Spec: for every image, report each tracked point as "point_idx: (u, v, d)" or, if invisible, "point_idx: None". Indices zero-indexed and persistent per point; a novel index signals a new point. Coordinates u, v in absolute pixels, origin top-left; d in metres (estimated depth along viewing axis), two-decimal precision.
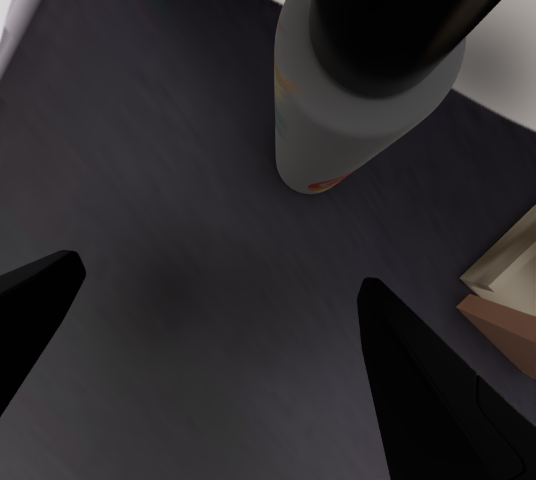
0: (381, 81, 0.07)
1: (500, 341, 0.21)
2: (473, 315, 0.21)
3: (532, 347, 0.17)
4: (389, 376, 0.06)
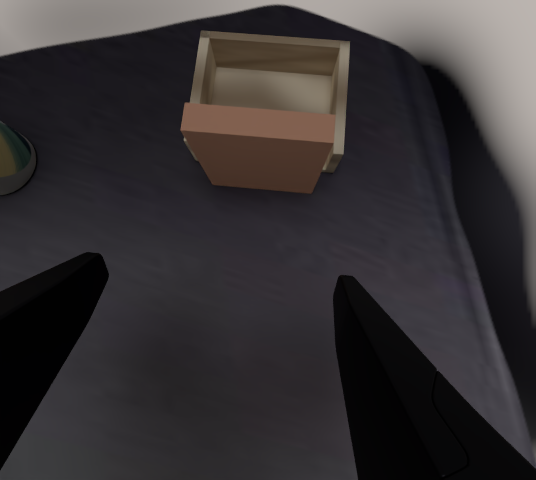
0: None
1: (246, 178, 0.20)
2: (209, 175, 0.20)
3: (206, 147, 0.16)
4: (356, 373, 0.06)
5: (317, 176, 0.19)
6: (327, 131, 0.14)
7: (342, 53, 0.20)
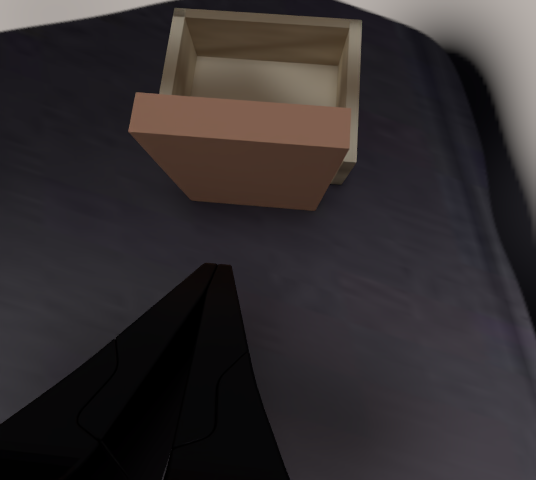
0: None
1: (231, 193, 0.16)
2: (184, 189, 0.16)
3: (172, 156, 0.12)
4: None
5: (323, 191, 0.14)
6: (340, 132, 0.10)
7: (352, 35, 0.16)
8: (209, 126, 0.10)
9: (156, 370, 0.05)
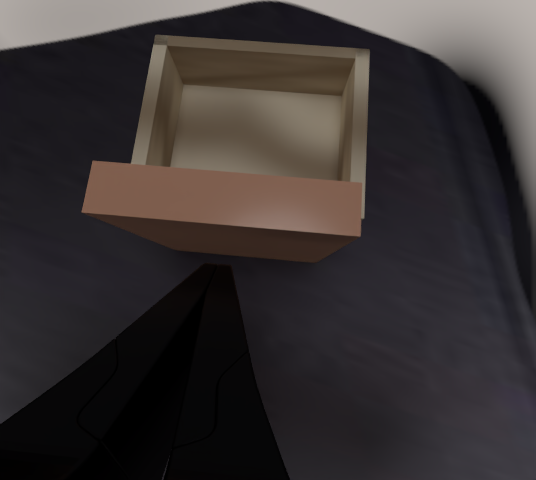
0: None
1: (220, 249, 0.14)
2: (166, 244, 0.14)
3: (142, 228, 0.10)
4: None
5: (325, 255, 0.12)
6: (348, 214, 0.08)
7: (359, 66, 0.14)
8: (183, 206, 0.08)
9: (156, 370, 0.05)
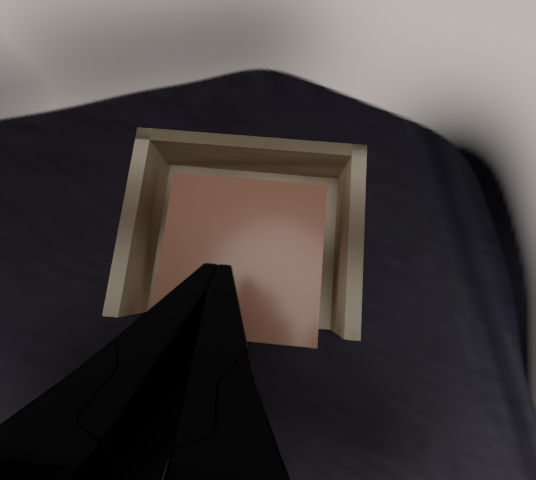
0: None
1: None
2: (158, 289, 0.13)
3: (187, 205, 0.14)
4: None
5: (319, 271, 0.13)
6: None
7: (355, 164, 0.13)
8: None
9: (156, 370, 0.05)
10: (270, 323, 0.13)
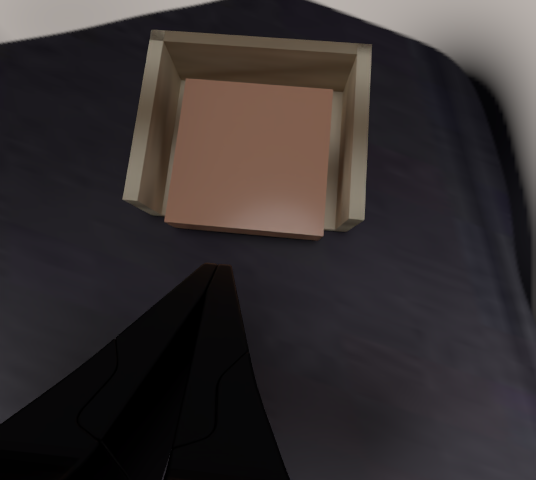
0: None
1: (227, 186, 0.14)
2: (173, 185, 0.14)
3: (199, 108, 0.15)
4: None
5: (325, 168, 0.14)
6: None
7: (360, 62, 0.14)
8: None
9: (156, 370, 0.05)
10: (279, 214, 0.14)
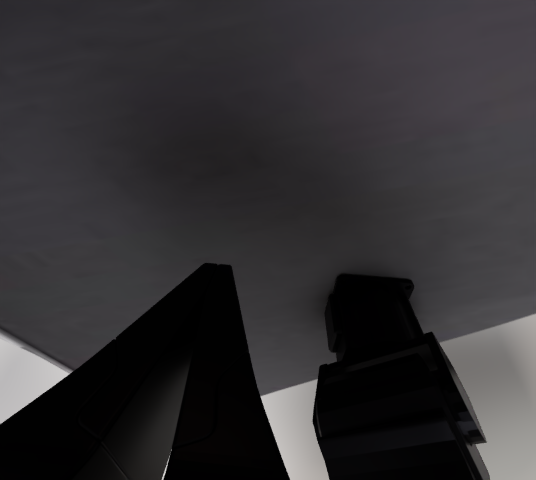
0: None
1: None
2: None
3: None
4: None
5: None
6: None
7: None
8: None
9: (156, 370, 0.05)
10: None
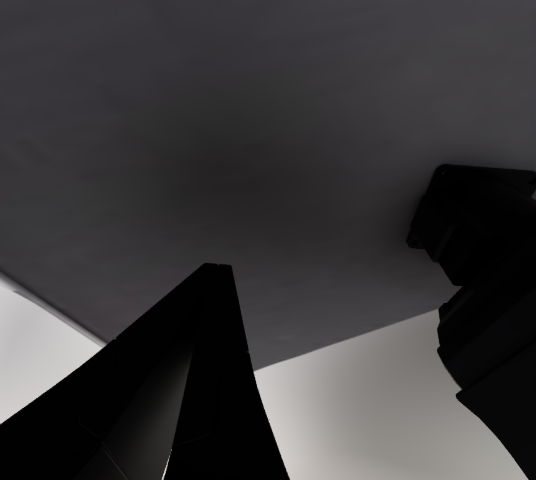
0: None
1: None
2: None
3: None
4: None
5: None
6: None
7: None
8: None
9: (156, 370, 0.05)
10: None
